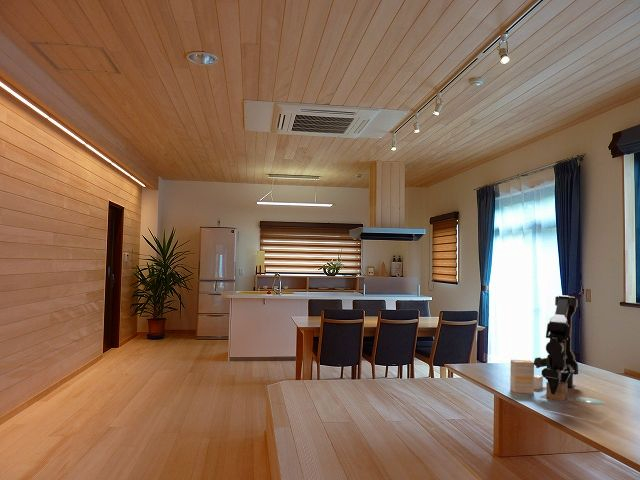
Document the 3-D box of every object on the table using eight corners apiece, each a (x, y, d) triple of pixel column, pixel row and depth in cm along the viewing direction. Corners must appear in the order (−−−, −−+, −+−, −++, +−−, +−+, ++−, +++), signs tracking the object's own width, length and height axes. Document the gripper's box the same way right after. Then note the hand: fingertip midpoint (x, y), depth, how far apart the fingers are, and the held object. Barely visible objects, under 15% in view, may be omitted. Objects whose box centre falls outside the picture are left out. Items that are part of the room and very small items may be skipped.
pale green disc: (580, 396, 198) (580, 395, 198) (608, 402, 191) (608, 401, 191) (572, 401, 190) (572, 400, 190) (601, 407, 183) (601, 406, 183)
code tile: (547, 394, 200) (547, 392, 200) (574, 399, 193) (574, 398, 193) (539, 398, 193) (539, 397, 193) (566, 404, 186) (566, 403, 186)
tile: (527, 384, 215) (527, 383, 215) (549, 388, 209) (549, 388, 209) (519, 387, 208) (519, 387, 208) (541, 392, 202) (541, 391, 202)
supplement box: (530, 392, 202) (530, 360, 203) (533, 395, 197) (534, 362, 198) (509, 390, 203) (510, 359, 204) (512, 393, 198) (513, 361, 199)
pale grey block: (530, 385, 212) (530, 373, 212) (542, 387, 208) (542, 376, 209) (526, 387, 208) (526, 375, 208) (538, 389, 205) (538, 377, 205)
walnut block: (551, 394, 197) (551, 379, 197) (567, 398, 193) (567, 383, 193) (546, 397, 193) (546, 382, 193) (562, 401, 189) (562, 385, 189)
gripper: (544, 347, 206) (543, 384, 205) (528, 351, 192) (527, 391, 192) (573, 351, 198) (572, 389, 198) (558, 356, 185) (557, 398, 184)
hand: (556, 392), depth 193 cm, fingers open, 9 cm apart
